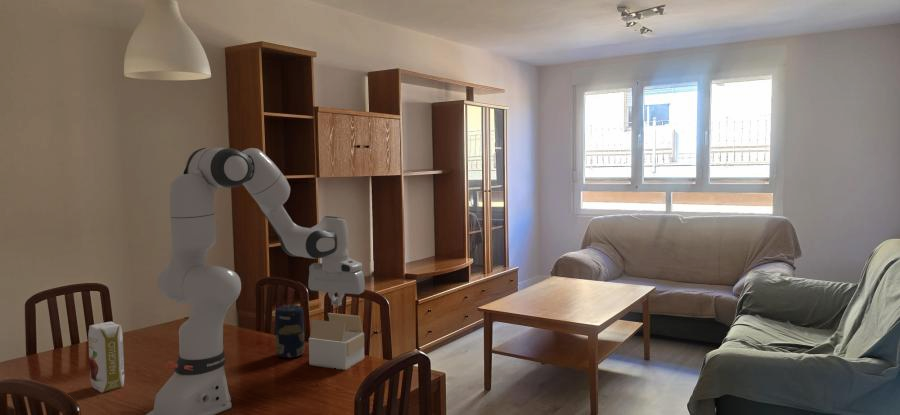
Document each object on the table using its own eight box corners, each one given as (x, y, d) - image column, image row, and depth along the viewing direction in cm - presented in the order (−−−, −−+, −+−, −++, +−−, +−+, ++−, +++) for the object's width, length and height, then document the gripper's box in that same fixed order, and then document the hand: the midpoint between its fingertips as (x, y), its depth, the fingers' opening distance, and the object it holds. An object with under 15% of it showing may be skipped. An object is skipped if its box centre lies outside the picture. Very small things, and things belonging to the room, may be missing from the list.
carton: (346, 370, 187) (346, 343, 187) (308, 364, 193) (307, 338, 192) (365, 358, 198) (365, 332, 198) (328, 353, 204) (327, 328, 203)
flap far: (359, 316, 196) (359, 316, 196) (327, 313, 201) (328, 312, 201) (362, 331, 198) (362, 331, 199) (331, 328, 203) (331, 327, 203)
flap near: (313, 319, 193) (312, 319, 192) (345, 323, 188) (344, 323, 188) (310, 337, 191) (309, 337, 191) (343, 341, 187) (342, 341, 186)
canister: (308, 351, 207) (307, 301, 205) (299, 360, 197) (297, 308, 196) (282, 350, 208) (281, 301, 206) (271, 359, 198) (270, 307, 197)
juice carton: (115, 380, 179) (112, 320, 178) (127, 386, 174) (124, 324, 173) (88, 387, 174) (85, 325, 172) (99, 394, 168) (96, 330, 167)
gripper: (303, 264, 194) (305, 304, 195) (356, 267, 187) (358, 309, 188) (314, 261, 200) (315, 300, 201) (366, 264, 192) (367, 305, 194)
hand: (336, 305), depth 194 cm, fingers closed
